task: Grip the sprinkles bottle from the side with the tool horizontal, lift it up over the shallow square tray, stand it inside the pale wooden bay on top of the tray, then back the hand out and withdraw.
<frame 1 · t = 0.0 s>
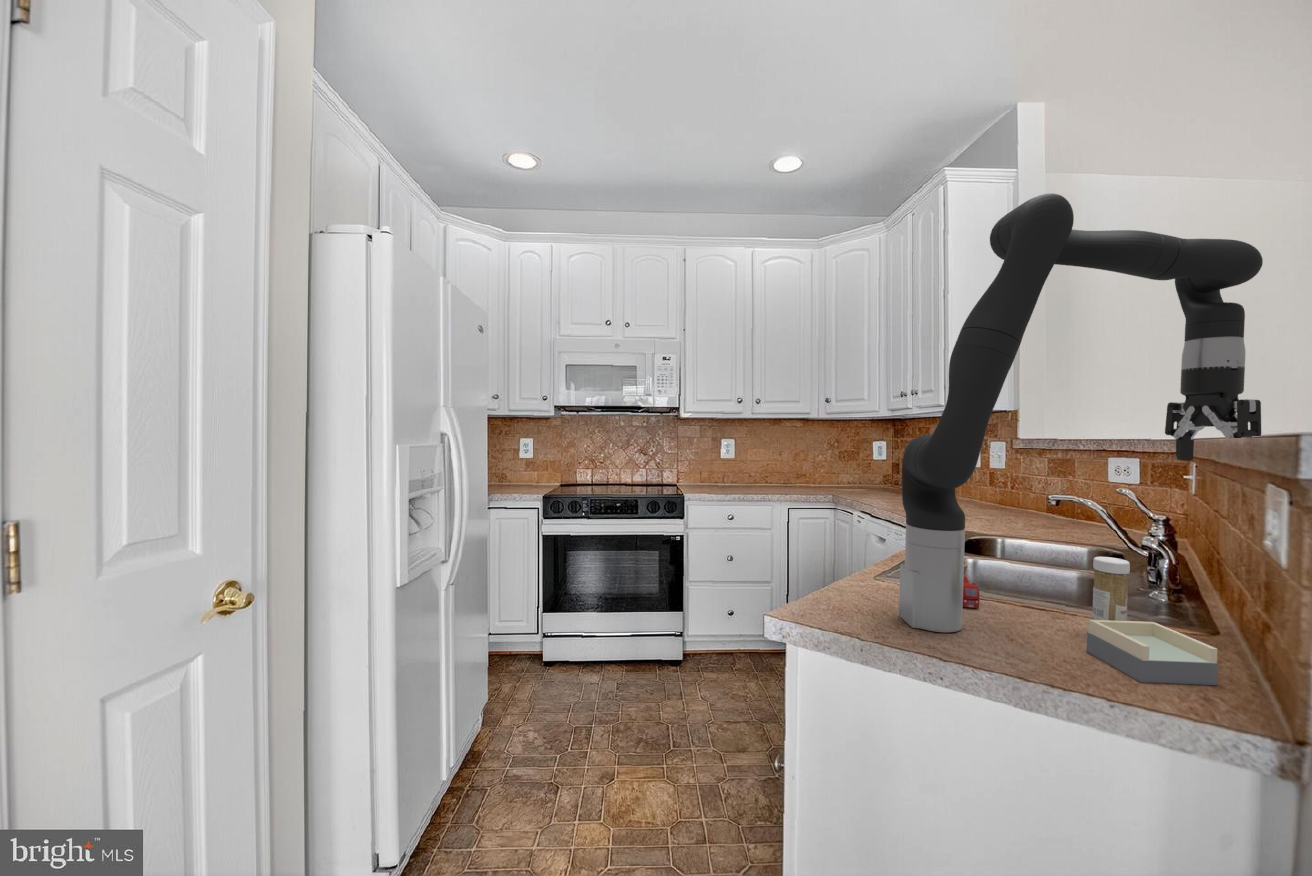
hand: (1208, 462, 92), 29 cm above the countertop, tool pointing down, fingers open, 8 cm apart
sprinkles bottle: (1108, 641, 89), on the countertop
toy fire truck: (959, 599, 109), on the countertop
shallow square tray: (1147, 667, 79), on the countertop
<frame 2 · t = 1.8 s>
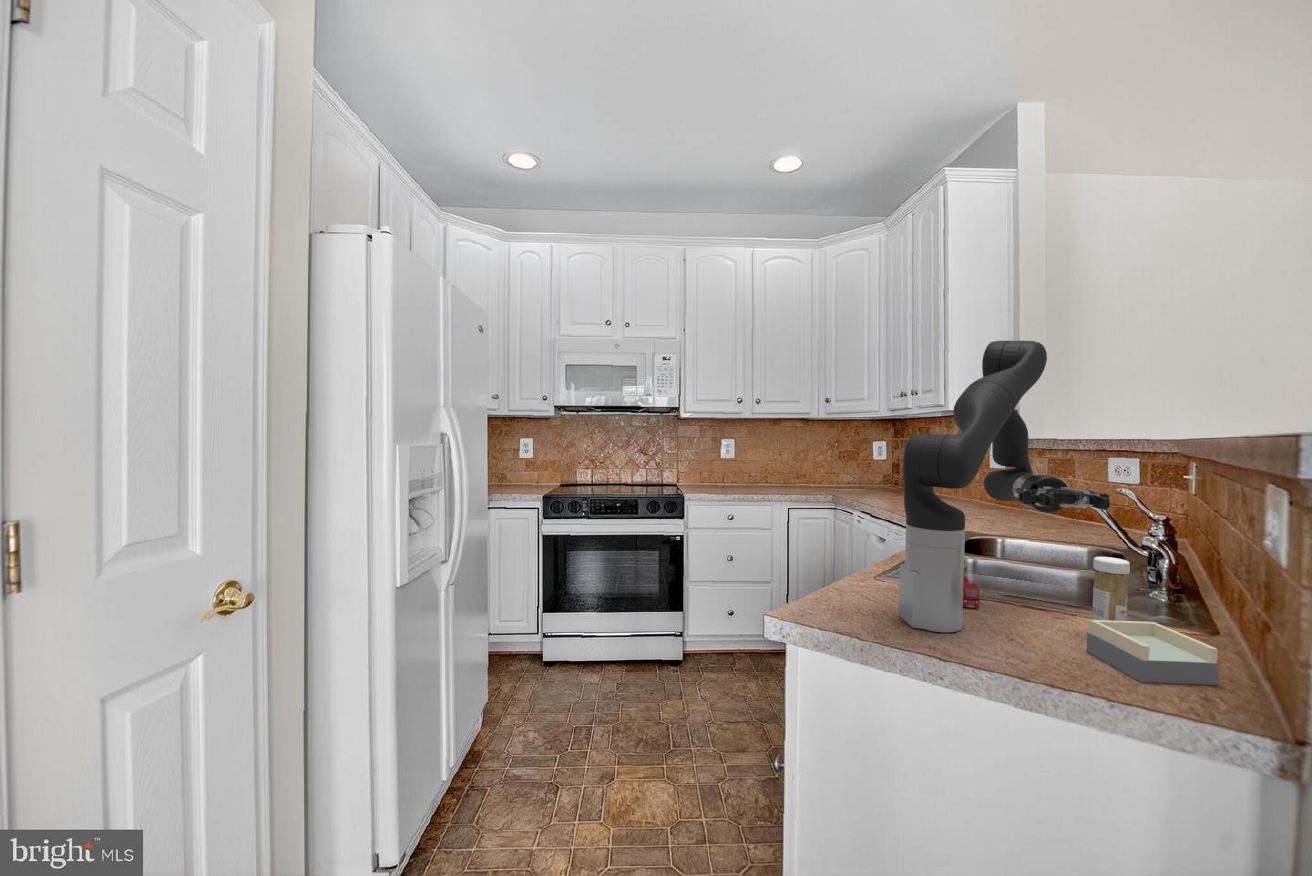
hand: (1078, 503, 99), 21 cm above the countertop, tool horizontal, fingers open, 8 cm apart
nothing on the countertop moved.
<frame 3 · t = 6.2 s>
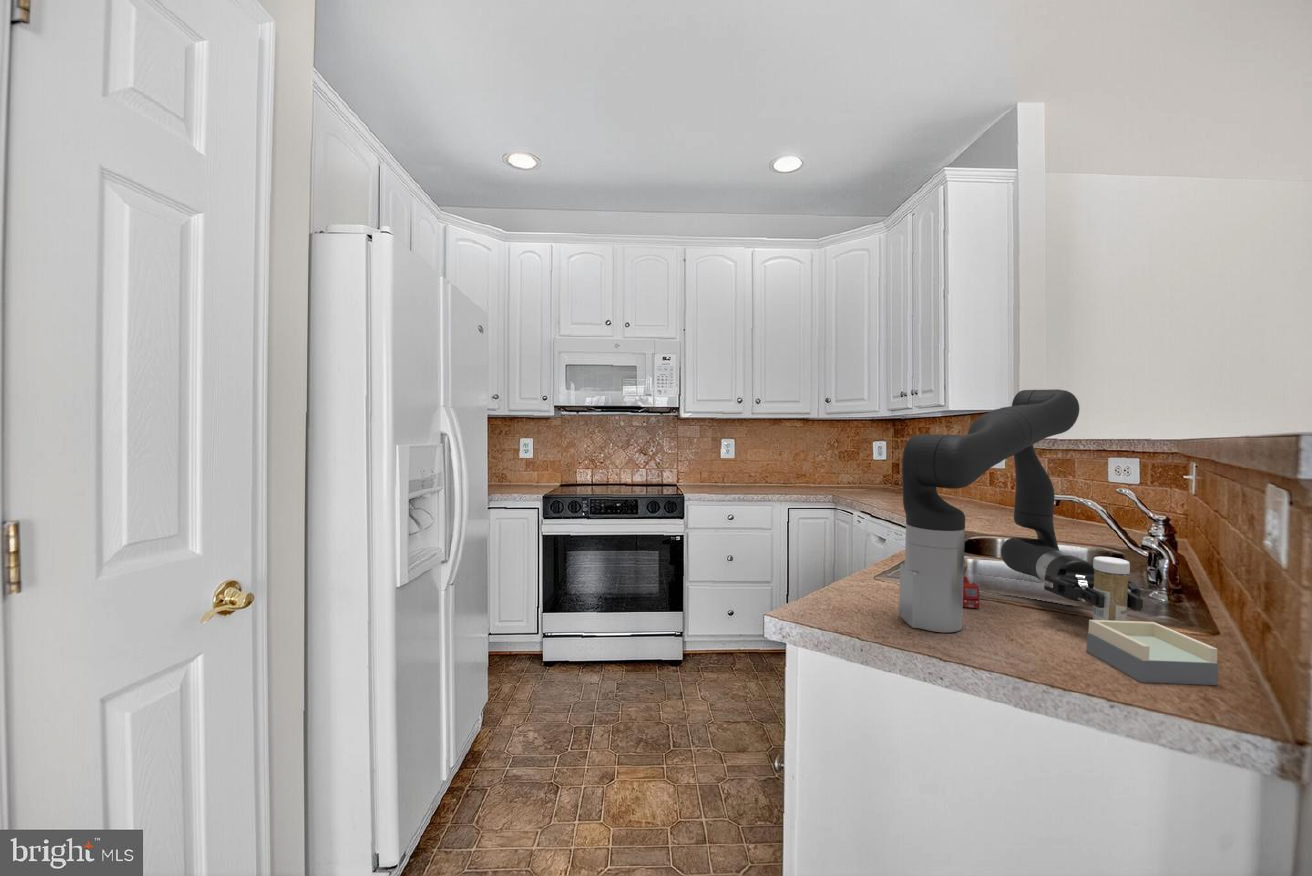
hand: (1120, 603, 86), 7 cm above the countertop, tool horizontal, fingers closed on sprinkles bottle, 4 cm apart
sprinkles bottle: (1108, 641, 89), on the countertop, touching gripper
everything else where it was.
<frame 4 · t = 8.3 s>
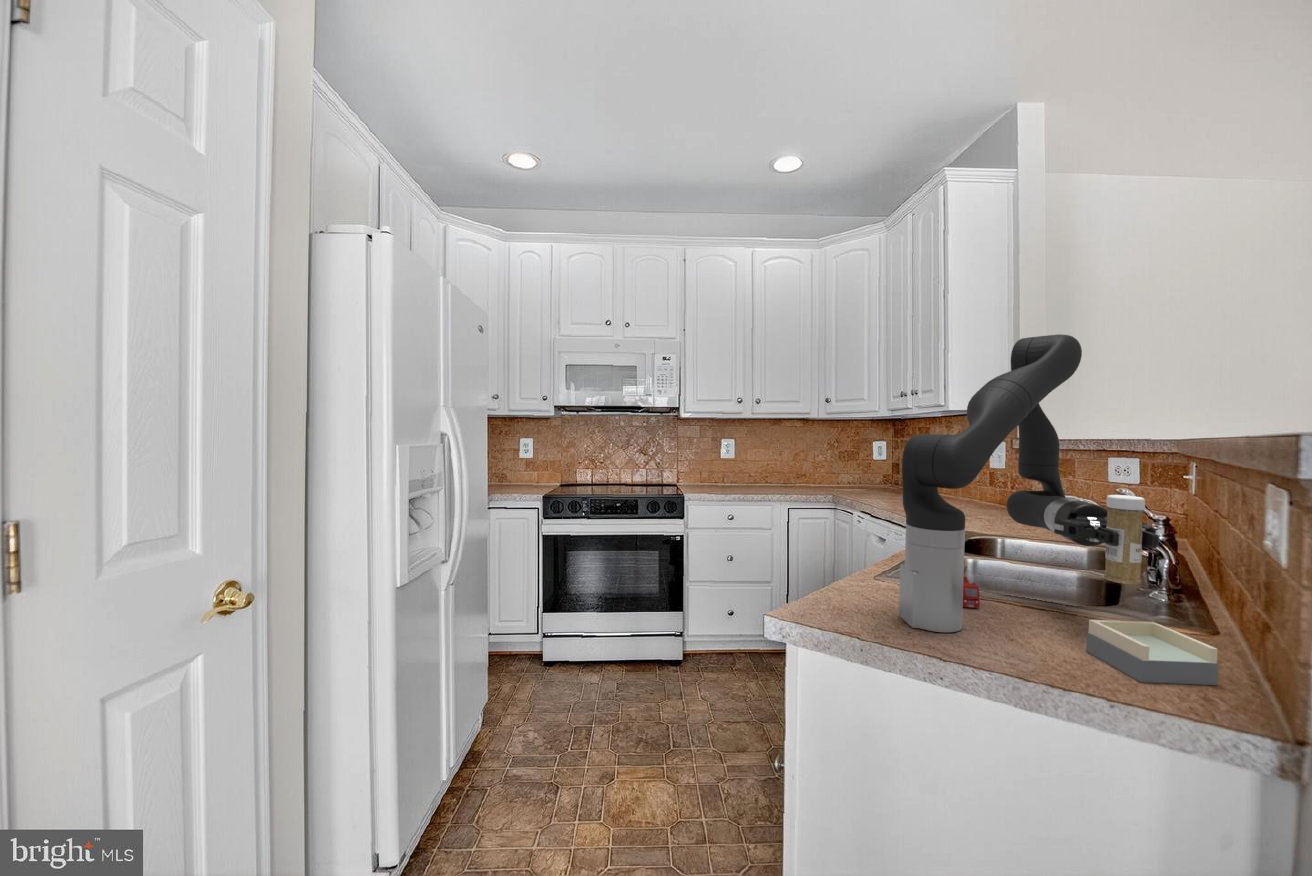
hand: (1135, 540, 82), 18 cm above the countertop, tool horizontal, fingers closed on sprinkles bottle, 4 cm apart
sprinkles bottle: (1121, 582, 85), point 11 cm above the countertop, touching gripper
everything else where it was.
when the fingers open (11 cm above the countertop, at t = 10.3 s): sprinkles bottle drops 1 cm, resting on shallow square tray.
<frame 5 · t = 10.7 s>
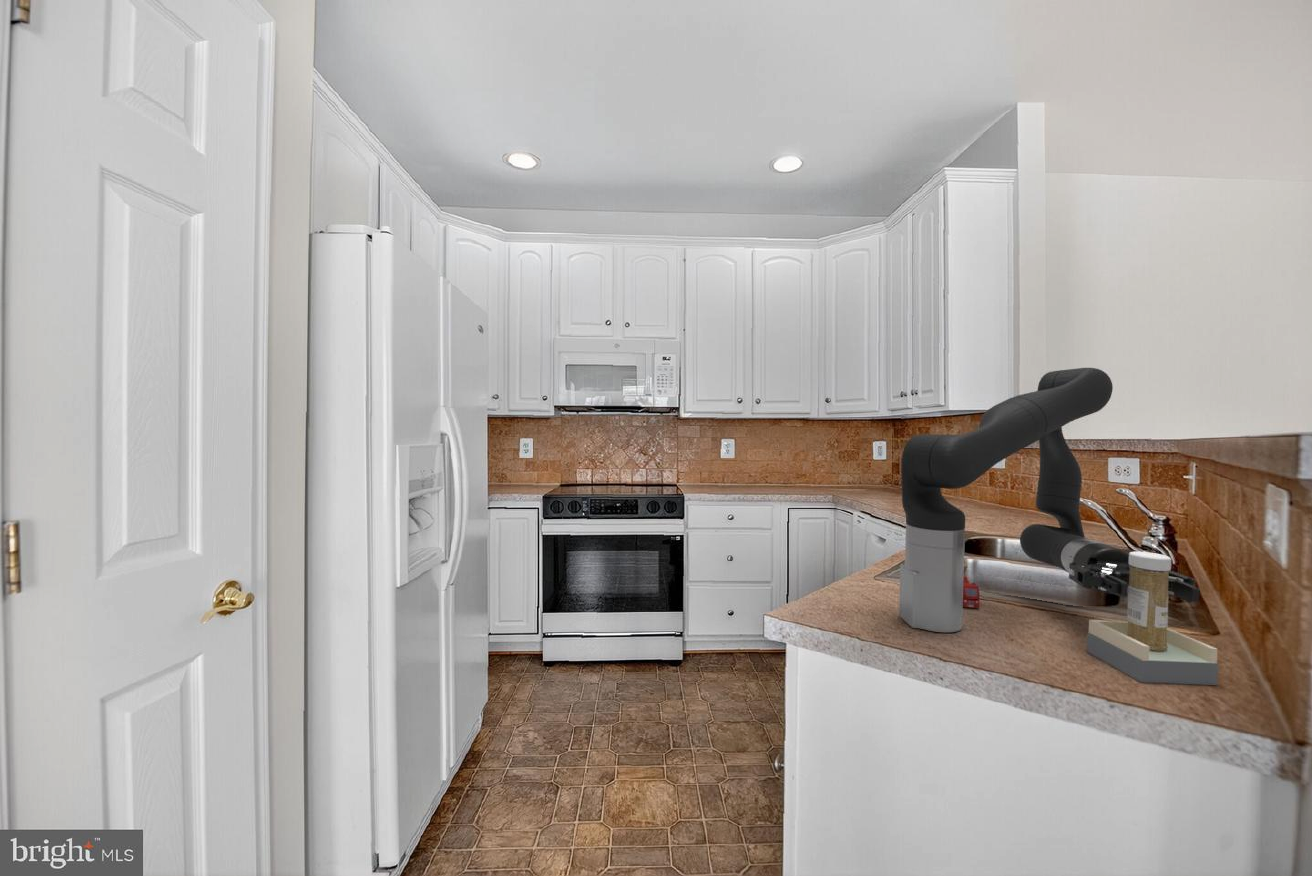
hand: (1159, 592, 76), 12 cm above the countertop, tool horizontal, fingers open, 8 cm apart
sprinkles bottle: (1145, 646, 79), point 3 cm above the countertop, touching shallow square tray
everything else where it was.
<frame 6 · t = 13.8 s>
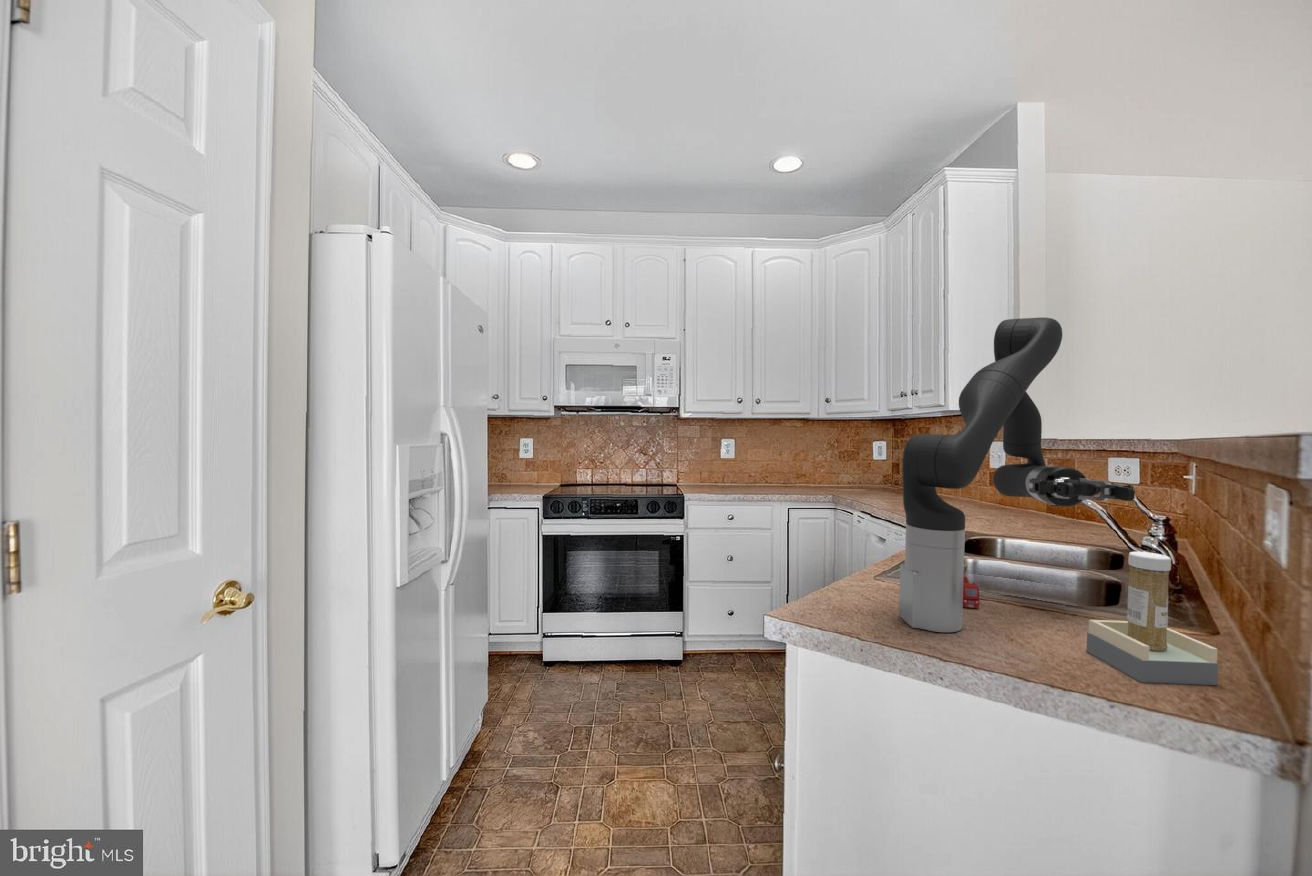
hand: (1100, 492, 90), 24 cm above the countertop, tool horizontal, fingers open, 8 cm apart
nothing on the countertop moved.
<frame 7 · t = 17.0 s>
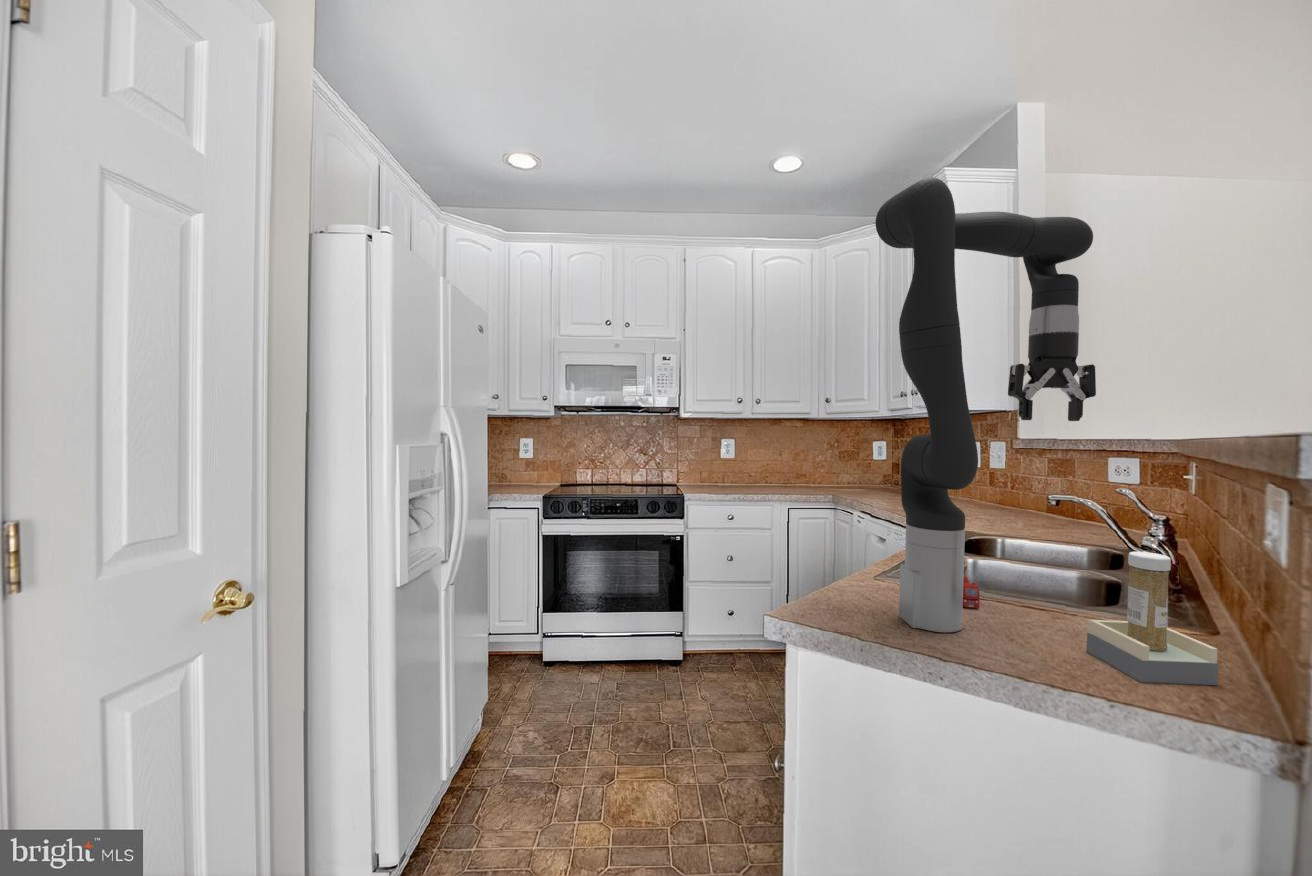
hand: (1050, 420, 101), 36 cm above the countertop, tool pointing down, fingers open, 8 cm apart
nothing on the countertop moved.
at the end: sprinkles bottle inside the target area on the shallow square tray (0.7 cm from its centre), point 2.9 cm above the shallow square tray's base; sprinkles bottle tilted 0°; the gripper is holding nothing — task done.
